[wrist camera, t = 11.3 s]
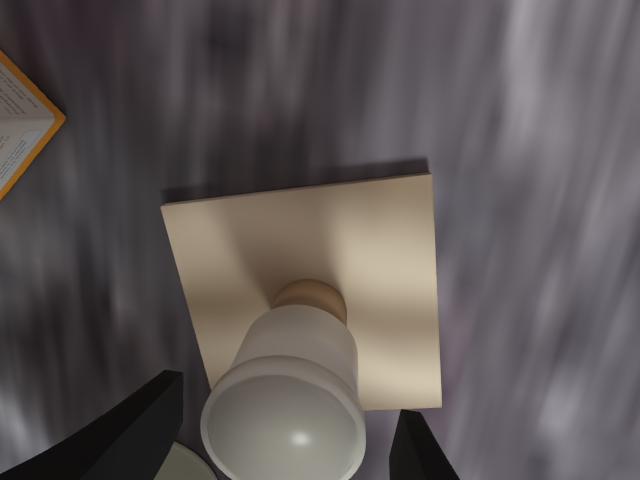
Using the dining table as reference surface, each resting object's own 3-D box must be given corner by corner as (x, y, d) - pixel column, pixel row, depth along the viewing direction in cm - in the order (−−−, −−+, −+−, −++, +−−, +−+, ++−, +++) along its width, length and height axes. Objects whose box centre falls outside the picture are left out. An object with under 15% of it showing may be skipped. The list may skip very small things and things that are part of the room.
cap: (266, 278, 14) (234, 340, 10) (386, 334, 14) (397, 414, 11) (221, 375, 16) (179, 459, 12) (329, 423, 16) (321, 520, 12)
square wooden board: (439, 398, 20) (458, 466, 16) (222, 408, 22) (193, 472, 18) (429, 171, 16) (451, 191, 12) (166, 203, 18) (115, 229, 14)
